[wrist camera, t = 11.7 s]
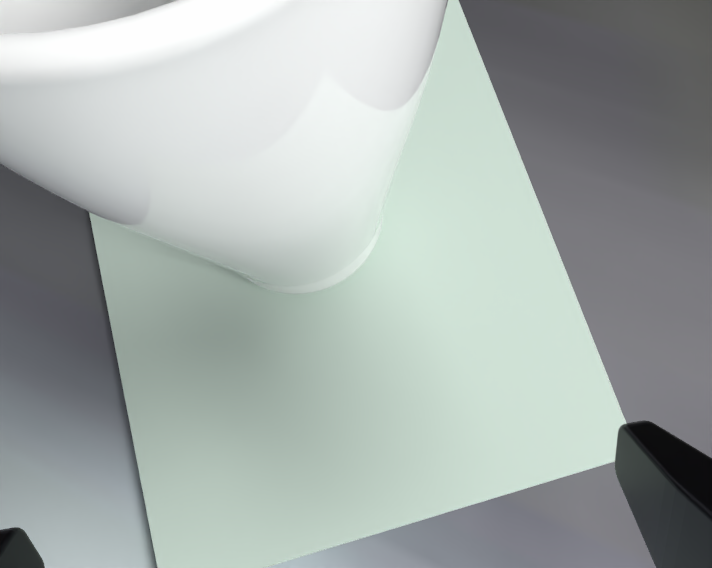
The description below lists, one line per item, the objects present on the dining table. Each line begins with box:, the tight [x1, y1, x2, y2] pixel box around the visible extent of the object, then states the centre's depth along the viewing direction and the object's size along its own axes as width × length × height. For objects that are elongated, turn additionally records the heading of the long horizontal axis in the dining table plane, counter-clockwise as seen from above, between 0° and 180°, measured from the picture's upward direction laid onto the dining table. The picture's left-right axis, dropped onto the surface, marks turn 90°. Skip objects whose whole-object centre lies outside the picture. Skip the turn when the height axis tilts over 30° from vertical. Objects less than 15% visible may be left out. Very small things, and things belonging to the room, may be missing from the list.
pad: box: [89, 0, 626, 568], centre depth 20 cm, size 20×14×1 cm
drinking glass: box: [0, 0, 448, 294], centre depth 12 cm, size 7×7×15 cm
